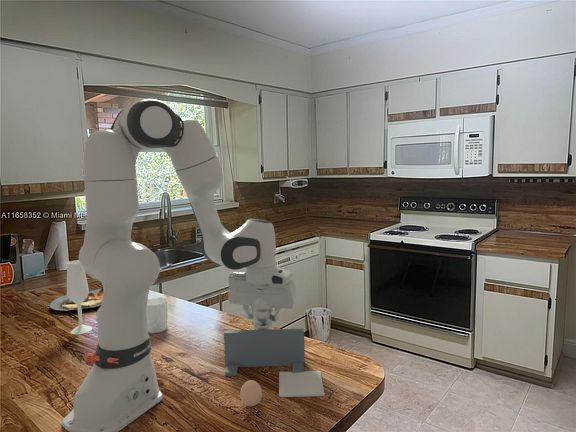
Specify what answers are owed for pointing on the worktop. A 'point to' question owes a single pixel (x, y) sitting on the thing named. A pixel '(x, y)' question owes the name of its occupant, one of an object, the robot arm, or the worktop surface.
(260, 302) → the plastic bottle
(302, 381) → the grey mat
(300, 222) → the worktop surface
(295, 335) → the slate screen
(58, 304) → the food plate
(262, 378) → the worktop surface
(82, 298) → the champagne flute
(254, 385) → the egg
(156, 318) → the white cup
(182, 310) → the worktop surface
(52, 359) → the worktop surface
